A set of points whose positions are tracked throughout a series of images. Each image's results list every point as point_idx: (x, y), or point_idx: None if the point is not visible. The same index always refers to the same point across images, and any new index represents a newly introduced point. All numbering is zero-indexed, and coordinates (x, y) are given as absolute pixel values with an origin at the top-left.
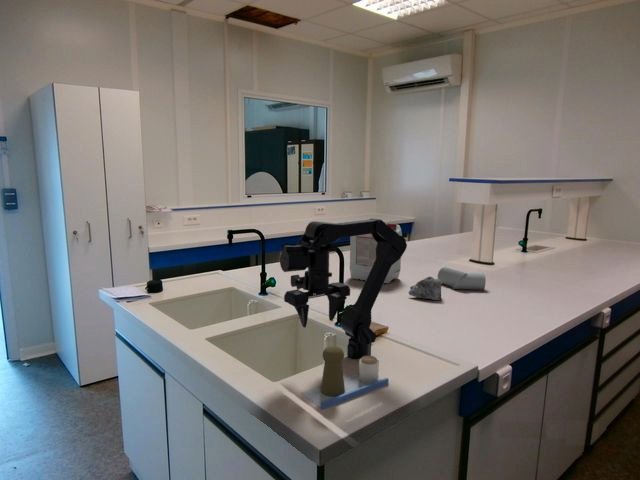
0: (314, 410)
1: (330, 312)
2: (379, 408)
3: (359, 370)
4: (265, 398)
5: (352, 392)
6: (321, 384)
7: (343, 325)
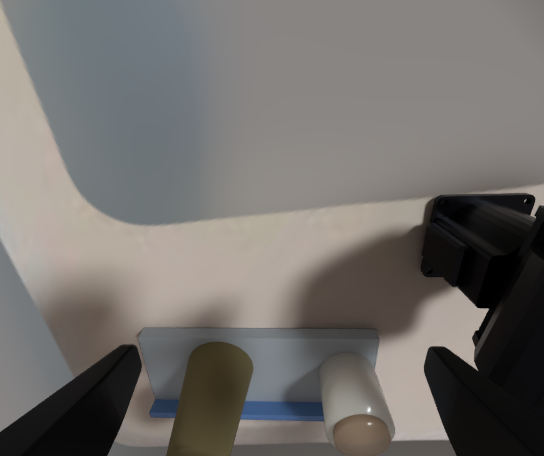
0: None
1: (483, 438)
2: (279, 430)
3: (325, 390)
4: (53, 283)
5: (242, 418)
6: (188, 368)
7: (534, 298)
